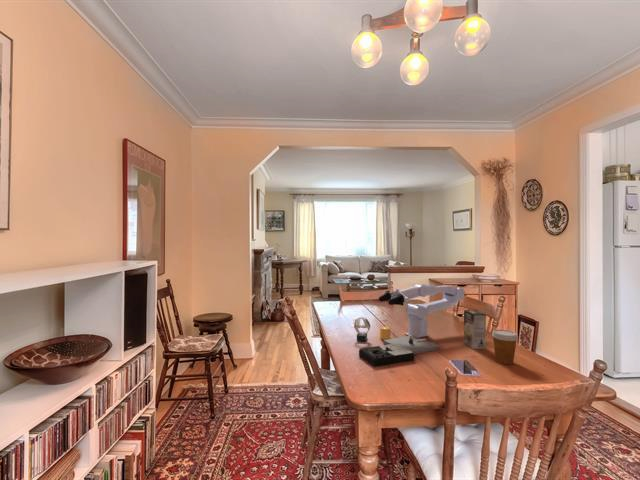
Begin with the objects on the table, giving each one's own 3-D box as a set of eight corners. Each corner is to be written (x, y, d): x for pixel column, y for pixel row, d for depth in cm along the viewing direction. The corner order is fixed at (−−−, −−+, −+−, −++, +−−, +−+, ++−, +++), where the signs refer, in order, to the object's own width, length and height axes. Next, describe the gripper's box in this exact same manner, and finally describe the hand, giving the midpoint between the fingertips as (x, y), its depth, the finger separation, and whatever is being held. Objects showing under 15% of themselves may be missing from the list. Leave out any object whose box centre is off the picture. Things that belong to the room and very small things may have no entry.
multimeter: (358, 357, 144) (358, 345, 144) (396, 351, 151) (396, 340, 151) (374, 368, 132) (374, 355, 132) (414, 361, 139) (414, 349, 139)
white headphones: (368, 327, 190) (368, 320, 190) (357, 329, 186) (357, 322, 186) (358, 324, 197) (358, 317, 197) (347, 326, 193) (347, 319, 193)
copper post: (411, 342, 158) (411, 334, 158) (414, 343, 156) (414, 335, 156) (407, 342, 157) (407, 335, 157) (410, 343, 155) (410, 336, 155)
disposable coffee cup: (487, 357, 143) (487, 329, 143) (510, 357, 143) (510, 329, 142) (498, 365, 133) (498, 335, 133) (522, 366, 133) (523, 336, 133)
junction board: (412, 338, 169) (412, 333, 169) (439, 349, 153) (439, 344, 153) (383, 343, 161) (383, 338, 161) (409, 355, 145) (409, 350, 145)
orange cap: (386, 336, 172) (386, 326, 172) (392, 338, 168) (392, 328, 168) (378, 337, 170) (378, 327, 170) (384, 340, 165) (384, 330, 165)
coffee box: (462, 342, 162) (463, 309, 162) (475, 342, 162) (476, 309, 162) (472, 349, 153) (473, 314, 153) (486, 349, 153) (486, 313, 153)
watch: (369, 342, 162) (369, 319, 162) (353, 340, 164) (353, 318, 164) (371, 339, 168) (371, 317, 167) (355, 337, 170) (355, 315, 170)
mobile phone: (467, 359, 139) (482, 374, 124) (467, 361, 139) (482, 376, 124) (448, 358, 139) (461, 373, 124) (448, 361, 139) (461, 376, 124)
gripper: (395, 284, 177) (374, 290, 171) (414, 289, 164) (392, 295, 158) (397, 297, 178) (376, 303, 172) (416, 303, 164) (394, 310, 159)
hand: (384, 301), depth 165 cm, fingers open, 7 cm apart
